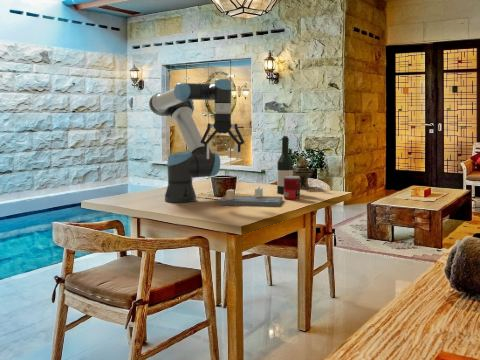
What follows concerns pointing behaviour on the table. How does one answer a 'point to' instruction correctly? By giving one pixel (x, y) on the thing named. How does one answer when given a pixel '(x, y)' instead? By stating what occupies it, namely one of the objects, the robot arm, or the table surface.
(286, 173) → the wine bottle
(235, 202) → the console
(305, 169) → the potted plant
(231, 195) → the fader
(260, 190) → the fader
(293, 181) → the canned food
